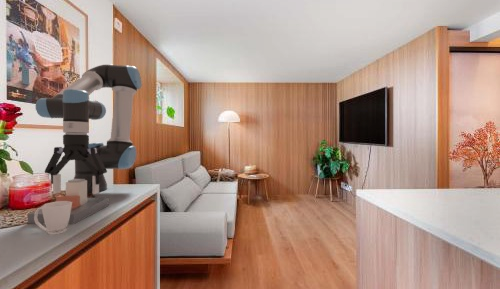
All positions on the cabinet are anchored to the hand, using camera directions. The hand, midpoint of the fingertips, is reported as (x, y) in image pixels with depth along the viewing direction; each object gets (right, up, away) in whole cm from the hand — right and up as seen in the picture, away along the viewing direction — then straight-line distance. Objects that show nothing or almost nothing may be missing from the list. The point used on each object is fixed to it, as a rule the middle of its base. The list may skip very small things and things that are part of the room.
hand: (76, 193), depth 88 cm
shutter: (0, -4, -7) cm, 8 cm away
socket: (0, -7, -2) cm, 7 cm away
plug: (0, -7, 0) cm, 7 cm away
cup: (+5, -8, -18) cm, 20 cm away
